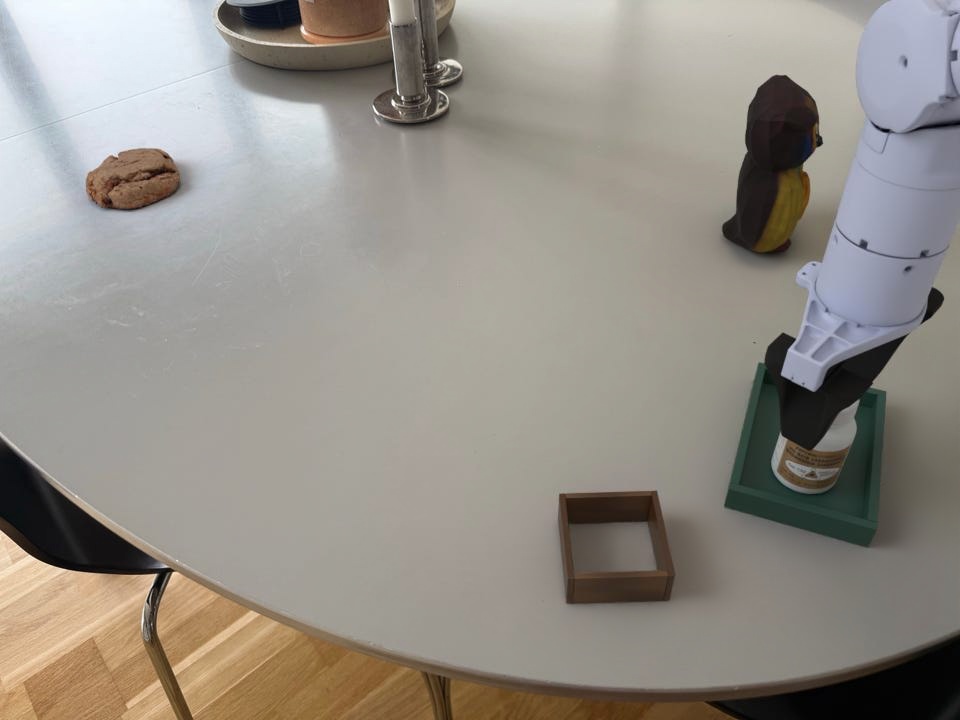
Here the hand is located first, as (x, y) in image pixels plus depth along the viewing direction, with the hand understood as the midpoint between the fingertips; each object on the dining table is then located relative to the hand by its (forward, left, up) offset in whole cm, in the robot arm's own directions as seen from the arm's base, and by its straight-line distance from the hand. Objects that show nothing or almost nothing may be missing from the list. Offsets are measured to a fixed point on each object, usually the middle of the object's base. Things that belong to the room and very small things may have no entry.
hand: (827, 407), depth 52 cm
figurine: (+18, -22, -7) cm, 30 cm away
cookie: (+72, +16, -7) cm, 74 cm away
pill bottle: (0, 0, -7) cm, 7 cm away
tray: (+1, -2, -7) cm, 7 cm away
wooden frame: (+5, +15, -7) cm, 17 cm away
